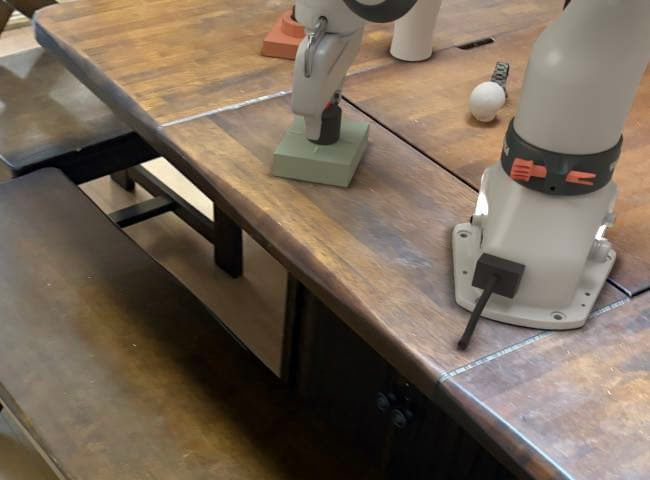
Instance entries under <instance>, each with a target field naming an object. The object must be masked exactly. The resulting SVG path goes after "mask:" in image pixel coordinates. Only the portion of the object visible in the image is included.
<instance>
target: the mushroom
mask: <svg viewBox="0 0 650 480" xmlns="http://www.w3.org/2000/svg"><path fill="white" fill-rule="evenodd" d="M505 103H506V98H505V93H504V90H503V88H502V87H501V86H500V85H498V84H497V83H495V82H491V81H483V82H482V83H481V82H480V83H479V84H478V85H477V86H475V88H474V89H472V91H471V93H470V95H469V100H468V107H469V111H470V114H472V115H473V116H474V118H475V120H477V121H479V122H481V123H488V122H491V121H493V120H494V119H495V118H496V115H497V113H498V112H499V111H500V110H501V109H502V107H504V105H505Z"/></svg>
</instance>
